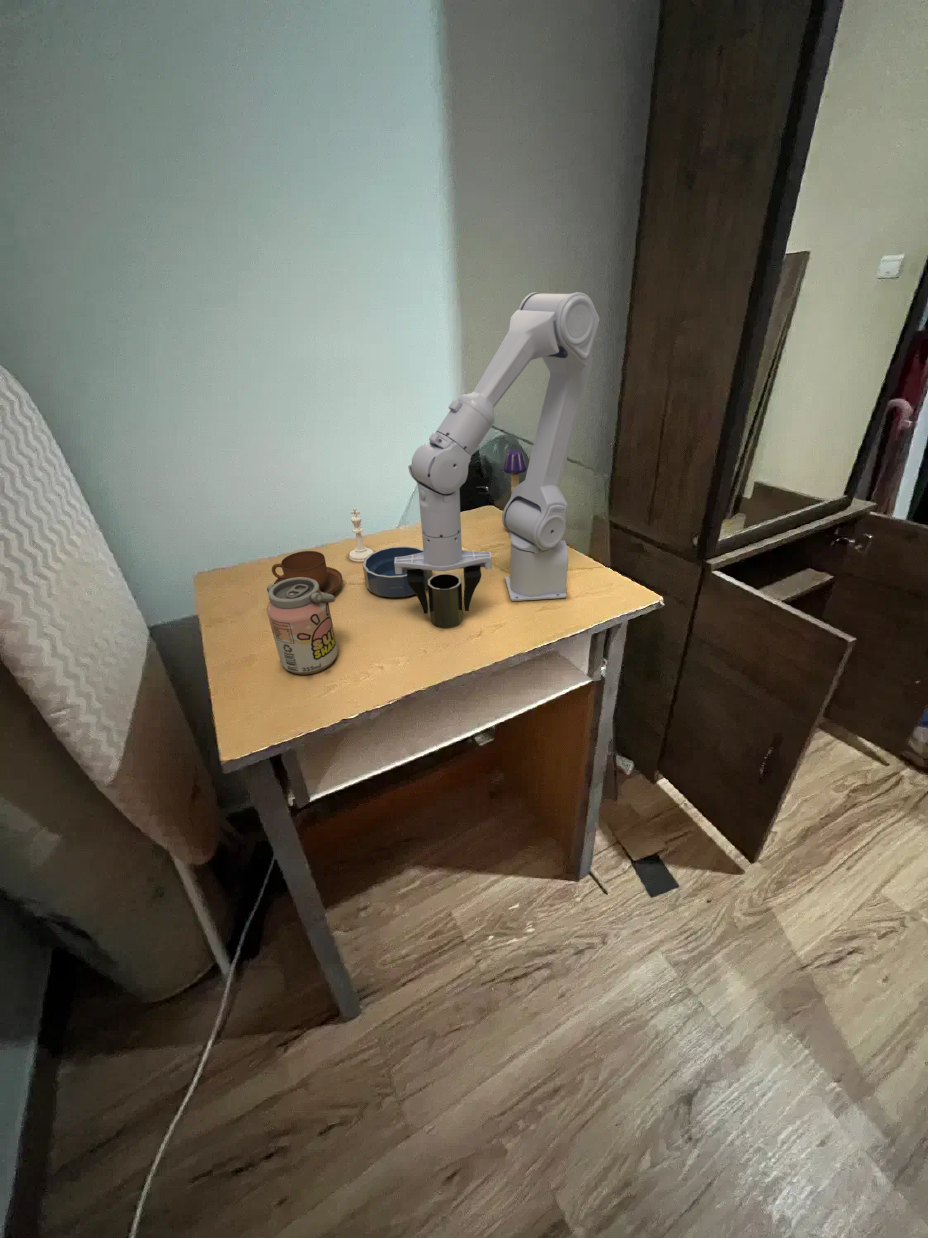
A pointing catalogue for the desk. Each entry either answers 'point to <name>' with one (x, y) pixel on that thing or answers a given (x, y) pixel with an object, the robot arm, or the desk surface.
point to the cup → (445, 600)
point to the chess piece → (358, 540)
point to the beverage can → (302, 625)
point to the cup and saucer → (309, 570)
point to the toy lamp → (514, 466)
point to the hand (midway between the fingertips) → (446, 609)
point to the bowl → (389, 572)
